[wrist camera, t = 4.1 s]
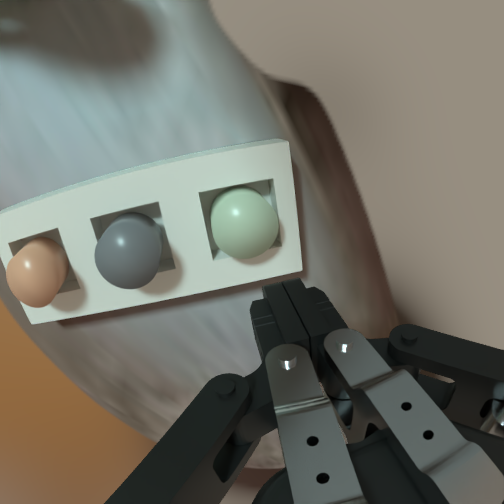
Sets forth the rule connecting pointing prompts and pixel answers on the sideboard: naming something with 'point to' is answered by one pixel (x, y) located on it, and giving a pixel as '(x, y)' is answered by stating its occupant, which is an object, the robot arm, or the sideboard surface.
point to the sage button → (243, 222)
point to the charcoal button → (129, 251)
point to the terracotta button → (37, 272)
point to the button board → (169, 221)
